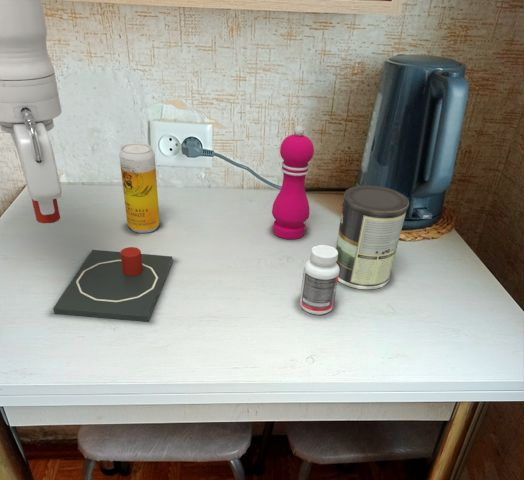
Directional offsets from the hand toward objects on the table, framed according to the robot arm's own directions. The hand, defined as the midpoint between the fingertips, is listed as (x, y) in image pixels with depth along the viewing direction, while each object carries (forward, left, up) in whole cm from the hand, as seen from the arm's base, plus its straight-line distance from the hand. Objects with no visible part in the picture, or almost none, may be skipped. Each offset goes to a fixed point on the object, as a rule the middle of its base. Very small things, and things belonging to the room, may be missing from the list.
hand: (45, 205), depth 71 cm
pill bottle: (+40, +2, -14) cm, 42 cm away
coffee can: (+48, +13, -14) cm, 51 cm away
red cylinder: (+9, +6, -13) cm, 17 cm away
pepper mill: (+35, +27, -14) cm, 46 cm away
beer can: (+7, +24, -14) cm, 28 cm away
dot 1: (0, 0, -2) cm, 2 cm away
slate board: (+8, +3, -14) cm, 16 cm away
